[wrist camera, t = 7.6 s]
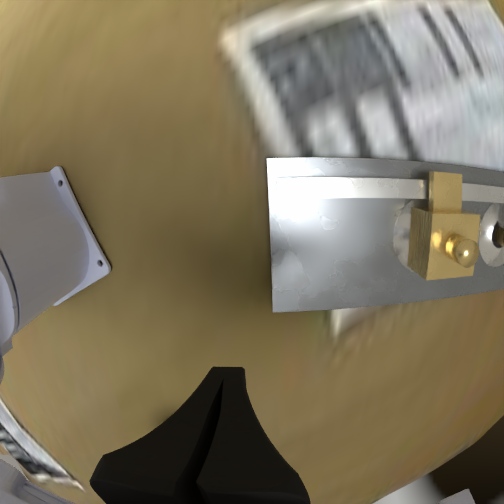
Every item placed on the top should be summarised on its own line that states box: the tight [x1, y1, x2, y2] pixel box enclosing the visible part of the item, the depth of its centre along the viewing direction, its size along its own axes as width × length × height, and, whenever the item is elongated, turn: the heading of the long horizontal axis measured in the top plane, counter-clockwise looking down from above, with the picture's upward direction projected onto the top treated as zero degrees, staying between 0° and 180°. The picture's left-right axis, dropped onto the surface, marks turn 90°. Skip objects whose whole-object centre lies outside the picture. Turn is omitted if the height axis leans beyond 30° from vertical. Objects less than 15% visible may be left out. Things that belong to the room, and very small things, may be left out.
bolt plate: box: [267, 157, 504, 312], centre depth 16 cm, size 22×10×7 cm, turn 93°
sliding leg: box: [407, 171, 480, 280], centre depth 15 cm, size 4×6×4 cm, turn 3°
